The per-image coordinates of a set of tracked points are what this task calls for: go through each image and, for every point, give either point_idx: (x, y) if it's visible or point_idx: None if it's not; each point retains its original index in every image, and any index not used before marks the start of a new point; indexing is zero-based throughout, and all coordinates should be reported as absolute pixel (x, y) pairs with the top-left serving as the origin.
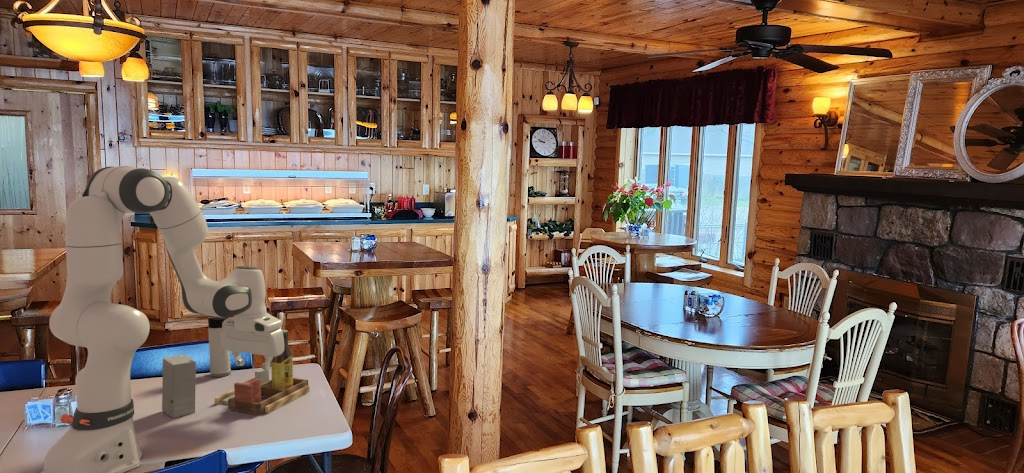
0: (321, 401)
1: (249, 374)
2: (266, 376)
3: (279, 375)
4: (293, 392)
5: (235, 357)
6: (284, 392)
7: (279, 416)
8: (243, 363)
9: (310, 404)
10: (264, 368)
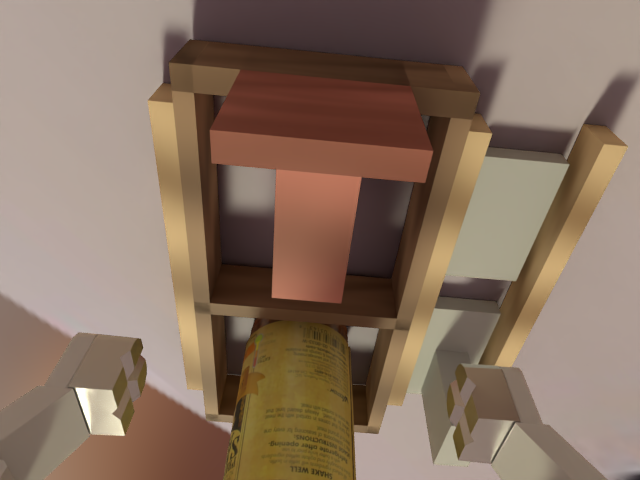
0: (50, 296)
1: (580, 447)
2: (431, 416)
3: (269, 399)
4: (192, 318)
5: (559, 458)
6: (194, 289)
7: (58, 64)
8: (451, 405)
9: (63, 257)
10: (99, 341)
